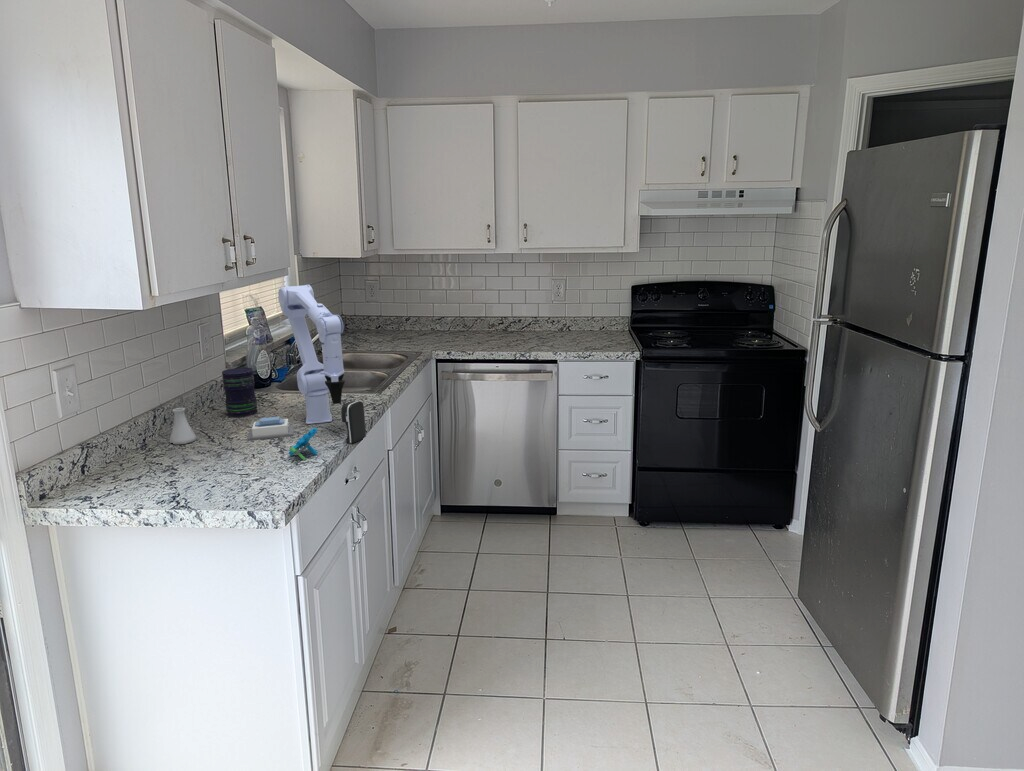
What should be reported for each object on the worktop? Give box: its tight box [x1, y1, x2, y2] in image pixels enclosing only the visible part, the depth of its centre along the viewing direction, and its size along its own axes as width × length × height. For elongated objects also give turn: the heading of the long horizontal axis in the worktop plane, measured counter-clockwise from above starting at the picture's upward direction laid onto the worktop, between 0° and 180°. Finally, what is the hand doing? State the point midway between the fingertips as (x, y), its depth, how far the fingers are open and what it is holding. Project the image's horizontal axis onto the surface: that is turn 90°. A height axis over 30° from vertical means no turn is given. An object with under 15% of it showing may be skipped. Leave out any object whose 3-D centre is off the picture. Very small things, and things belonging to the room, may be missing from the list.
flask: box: [168, 407, 198, 445], centre depth 206 cm, size 7×7×10 cm
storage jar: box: [221, 367, 258, 419], centre depth 235 cm, size 10×10×15 cm
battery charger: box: [340, 400, 367, 444], centre depth 202 cm, size 7×4×11 cm, turn 157°
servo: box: [255, 416, 286, 427], centre depth 212 cm, size 4×8×4 cm, turn 105°
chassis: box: [246, 418, 295, 441], centre depth 212 cm, size 10×13×3 cm
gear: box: [288, 427, 318, 461], centre depth 191 cm, size 11×6×10 cm
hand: (336, 400), depth 212 cm, fingers open, 7 cm apart
